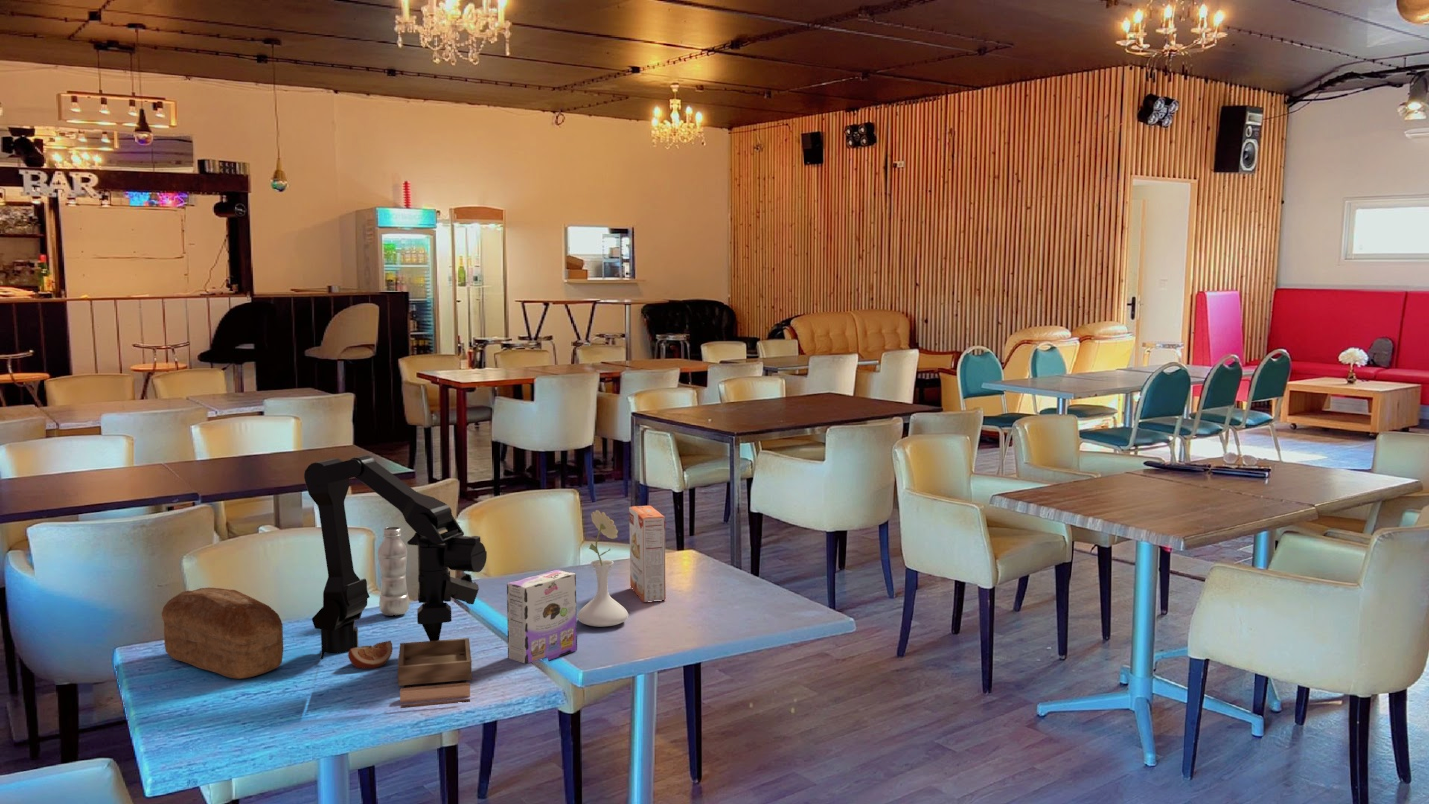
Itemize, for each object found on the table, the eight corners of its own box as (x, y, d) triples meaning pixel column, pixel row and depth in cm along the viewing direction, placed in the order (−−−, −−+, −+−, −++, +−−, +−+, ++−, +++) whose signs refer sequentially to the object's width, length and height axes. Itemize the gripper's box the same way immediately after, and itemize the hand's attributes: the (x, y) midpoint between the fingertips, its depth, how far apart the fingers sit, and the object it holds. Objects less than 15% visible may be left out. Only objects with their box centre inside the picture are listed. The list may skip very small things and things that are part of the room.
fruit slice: (384, 660, 212) (384, 635, 211) (399, 668, 207) (399, 644, 206) (343, 669, 206) (343, 644, 206) (358, 679, 201) (357, 653, 201)
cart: (398, 689, 192) (397, 667, 192) (400, 663, 206) (400, 643, 205) (471, 683, 196) (471, 661, 195) (469, 658, 209) (469, 638, 209)
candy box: (558, 645, 221) (557, 568, 220) (578, 651, 217) (577, 572, 216) (506, 662, 211) (505, 581, 209) (526, 669, 207) (525, 586, 205)
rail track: (399, 708, 187) (398, 691, 187) (403, 656, 214) (403, 641, 214) (471, 701, 190) (470, 685, 190) (466, 651, 217) (466, 637, 217)
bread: (211, 643, 222) (208, 576, 221) (294, 669, 207) (291, 597, 205) (154, 659, 212) (151, 589, 211) (237, 687, 197) (234, 612, 195)
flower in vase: (635, 627, 233) (634, 515, 231) (584, 633, 229) (583, 519, 227) (618, 611, 245) (617, 504, 243) (569, 616, 241) (568, 508, 239)
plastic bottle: (401, 619, 238) (399, 532, 236) (373, 617, 240) (371, 530, 238) (415, 611, 244) (412, 526, 243) (388, 609, 246) (385, 524, 244)
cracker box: (628, 588, 265) (628, 505, 263) (652, 586, 266) (651, 504, 264) (641, 603, 251) (641, 517, 249) (666, 601, 253) (666, 515, 251)
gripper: (477, 577, 200) (479, 657, 201) (473, 554, 218) (475, 628, 219) (416, 581, 197) (418, 662, 198) (417, 557, 215) (419, 632, 216)
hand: (435, 645), depth 208 cm, fingers closed
